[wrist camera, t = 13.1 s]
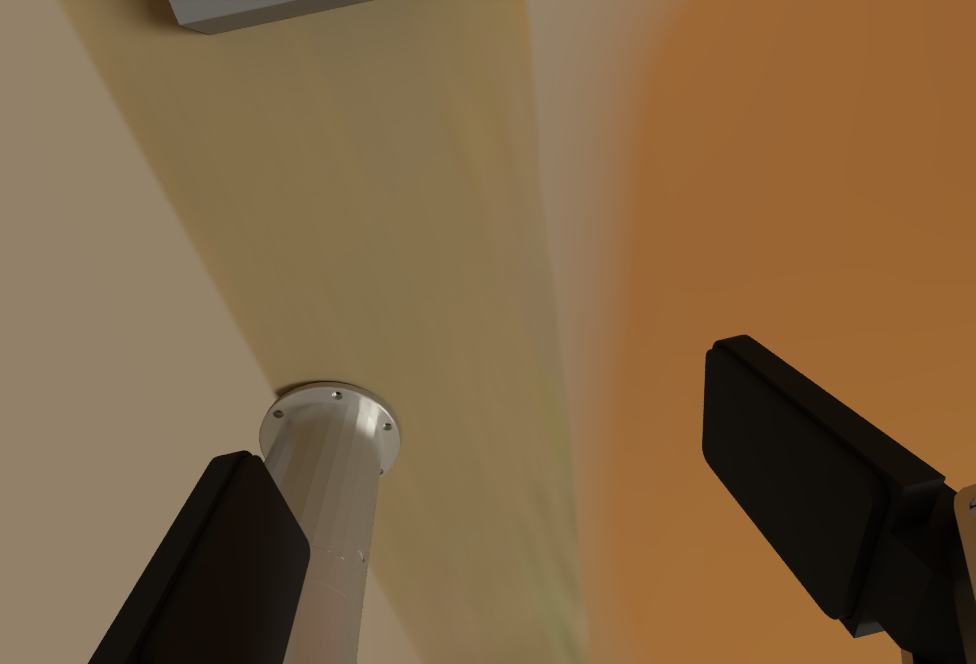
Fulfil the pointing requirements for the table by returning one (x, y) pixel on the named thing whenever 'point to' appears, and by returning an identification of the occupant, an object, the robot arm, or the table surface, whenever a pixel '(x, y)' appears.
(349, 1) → the housing
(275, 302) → the table surface
